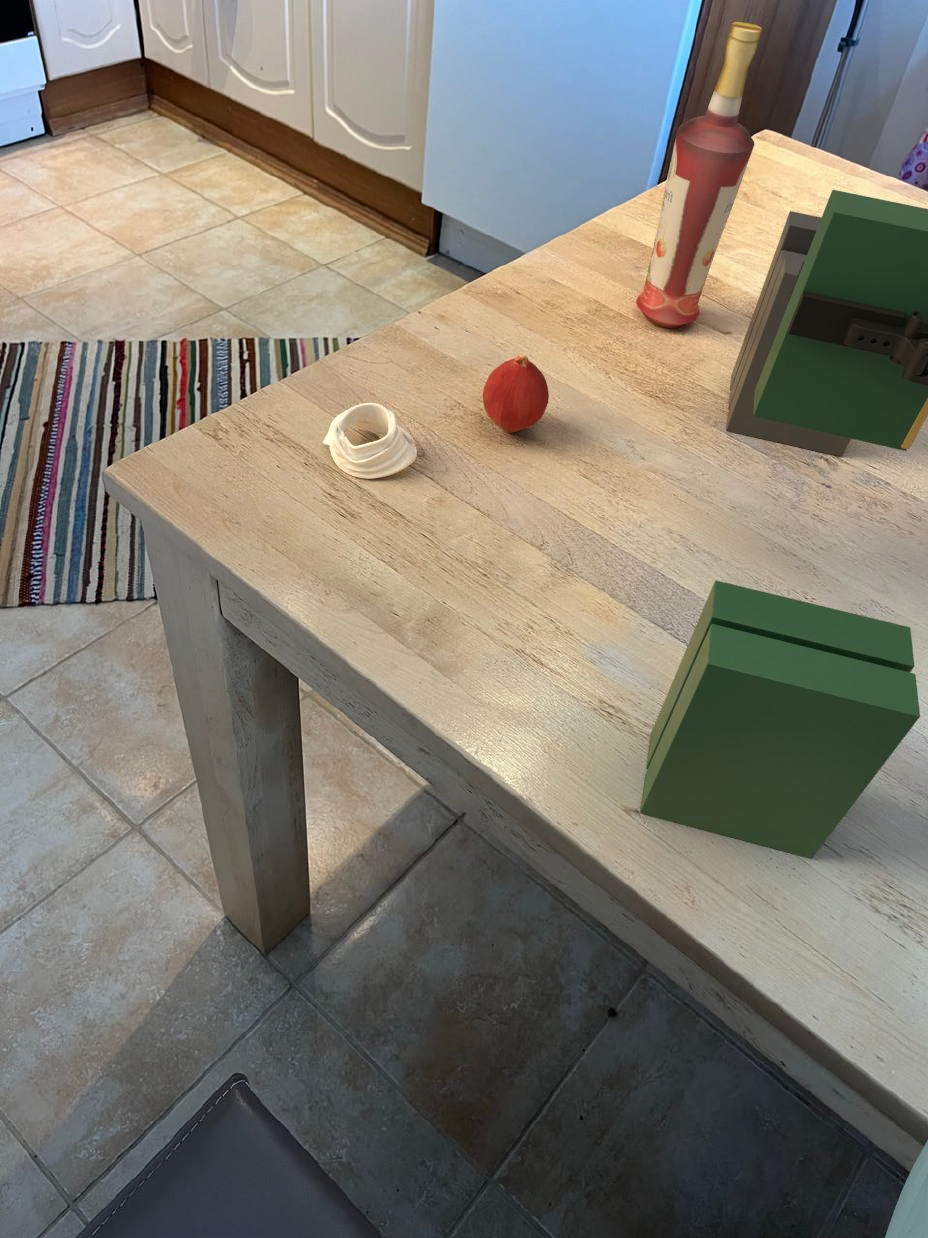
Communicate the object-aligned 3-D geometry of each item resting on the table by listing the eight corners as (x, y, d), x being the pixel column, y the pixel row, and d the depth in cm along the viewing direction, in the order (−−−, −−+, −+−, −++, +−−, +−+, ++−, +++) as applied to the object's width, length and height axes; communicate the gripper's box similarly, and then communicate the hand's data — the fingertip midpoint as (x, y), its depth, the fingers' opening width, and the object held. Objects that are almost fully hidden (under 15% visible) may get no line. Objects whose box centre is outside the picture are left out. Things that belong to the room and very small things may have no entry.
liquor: (697, 341, 100) (790, 46, 80) (628, 327, 101) (704, 31, 80) (699, 307, 105) (787, 21, 85) (634, 294, 106) (706, 7, 85)
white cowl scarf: (426, 459, 84) (436, 412, 80) (393, 496, 79) (402, 448, 76) (346, 425, 85) (352, 377, 82) (309, 460, 80) (314, 411, 77)
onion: (474, 410, 88) (485, 333, 82) (535, 411, 89) (549, 335, 83) (482, 449, 84) (493, 372, 78) (546, 450, 85) (561, 373, 79)
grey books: (842, 457, 89) (924, 289, 76) (725, 430, 90) (788, 260, 77) (839, 399, 96) (914, 235, 83) (731, 375, 97) (789, 210, 84)
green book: (907, 452, 67) (1020, 250, 56) (753, 417, 68) (833, 211, 57) (903, 423, 70) (1010, 225, 59) (754, 390, 71) (832, 188, 60)
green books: (811, 859, 59) (920, 716, 48) (639, 813, 60) (707, 663, 49) (811, 775, 64) (910, 626, 53) (650, 733, 65) (715, 579, 54)
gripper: (1152, 497, 58) (774, 412, 61) (1095, 359, 70) (778, 291, 72) (1237, 394, 53) (818, 304, 55) (1160, 262, 64) (815, 192, 66)
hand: (796, 297), depth 63 cm, fingers closed on green book, 3 cm apart
